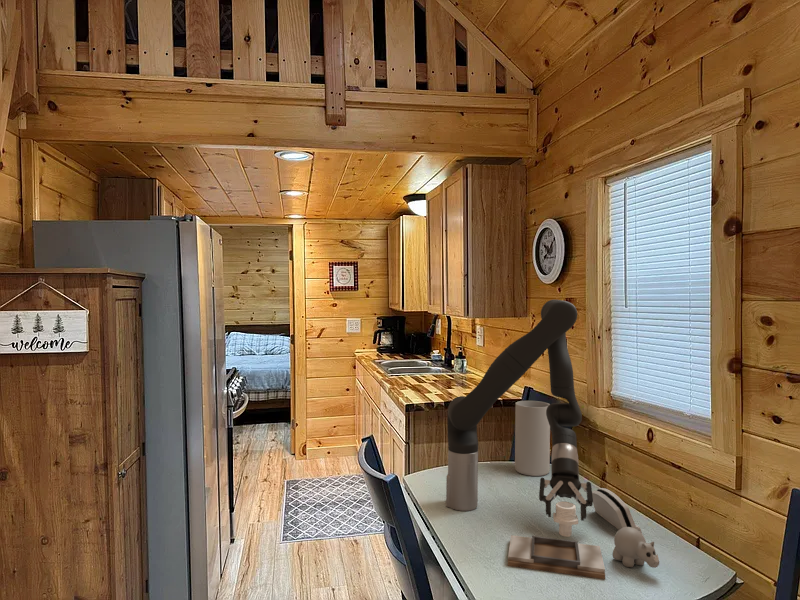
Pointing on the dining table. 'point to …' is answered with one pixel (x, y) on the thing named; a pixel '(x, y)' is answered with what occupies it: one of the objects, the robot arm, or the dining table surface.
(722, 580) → the dining table surface
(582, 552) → the base
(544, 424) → the cylinder vase
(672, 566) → the dining table surface
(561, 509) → the pipe fitting
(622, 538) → the chubby cartoon animal
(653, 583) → the dining table surface
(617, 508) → the white striped curved block
